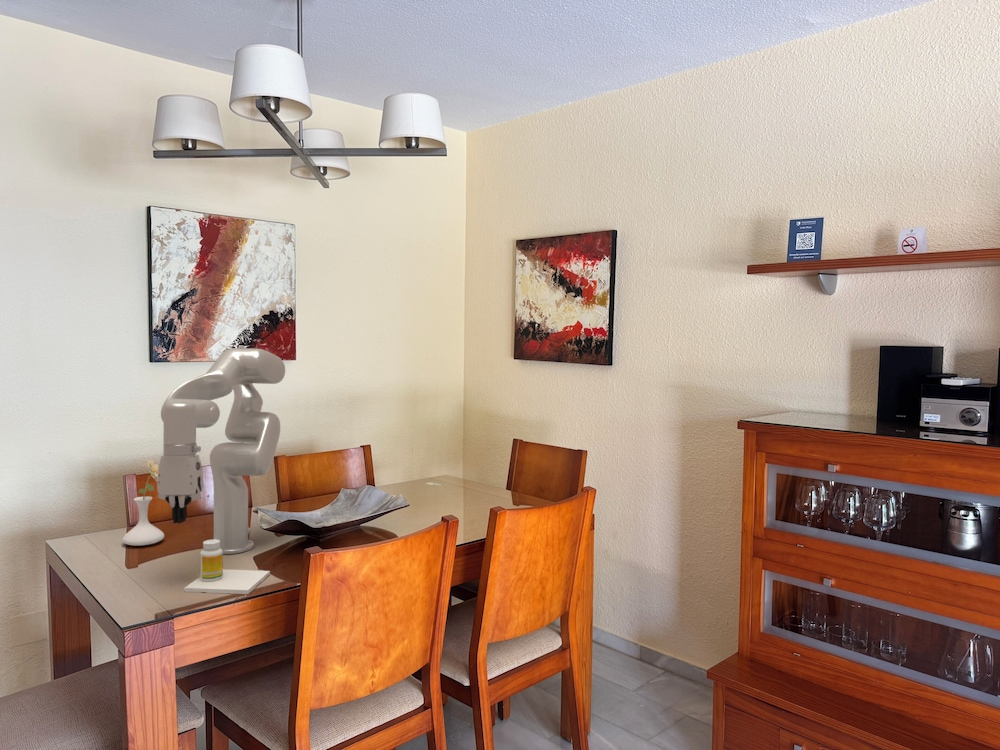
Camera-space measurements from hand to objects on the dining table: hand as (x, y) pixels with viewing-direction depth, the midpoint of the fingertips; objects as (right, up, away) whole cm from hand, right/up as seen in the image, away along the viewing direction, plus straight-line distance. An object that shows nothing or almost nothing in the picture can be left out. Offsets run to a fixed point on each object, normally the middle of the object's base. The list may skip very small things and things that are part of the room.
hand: (179, 521), depth 176 cm
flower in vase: (-26, -14, +34) cm, 45 cm away
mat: (+12, -16, +1) cm, 20 cm away
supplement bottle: (+8, -15, +1) cm, 17 cm away
